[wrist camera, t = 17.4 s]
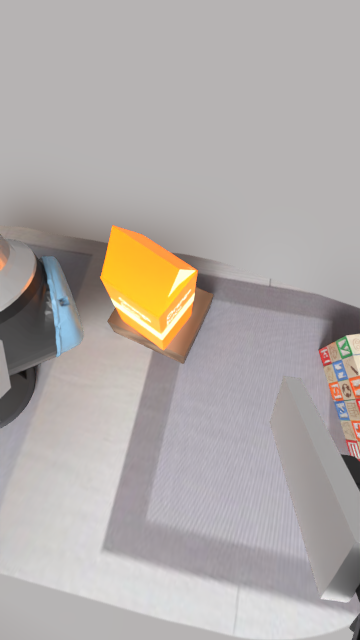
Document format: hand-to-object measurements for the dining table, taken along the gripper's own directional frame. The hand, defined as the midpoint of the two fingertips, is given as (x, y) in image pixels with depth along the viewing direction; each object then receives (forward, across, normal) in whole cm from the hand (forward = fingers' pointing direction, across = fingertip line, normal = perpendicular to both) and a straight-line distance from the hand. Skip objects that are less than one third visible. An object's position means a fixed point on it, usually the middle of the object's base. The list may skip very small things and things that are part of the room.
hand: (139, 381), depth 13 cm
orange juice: (+32, -3, -11) cm, 34 cm away
